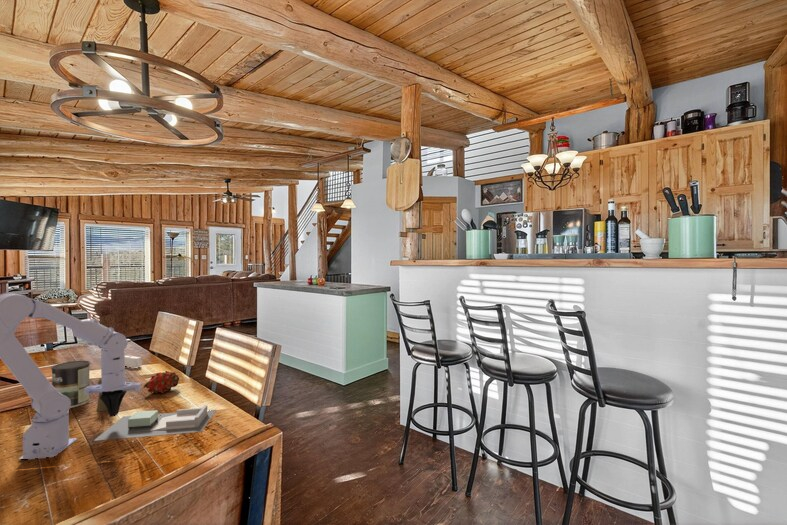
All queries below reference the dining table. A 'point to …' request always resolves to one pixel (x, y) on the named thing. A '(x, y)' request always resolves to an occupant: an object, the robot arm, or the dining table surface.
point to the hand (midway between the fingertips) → (114, 415)
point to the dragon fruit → (162, 382)
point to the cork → (101, 404)
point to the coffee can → (72, 381)
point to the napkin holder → (132, 361)
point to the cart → (143, 419)
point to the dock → (162, 425)
